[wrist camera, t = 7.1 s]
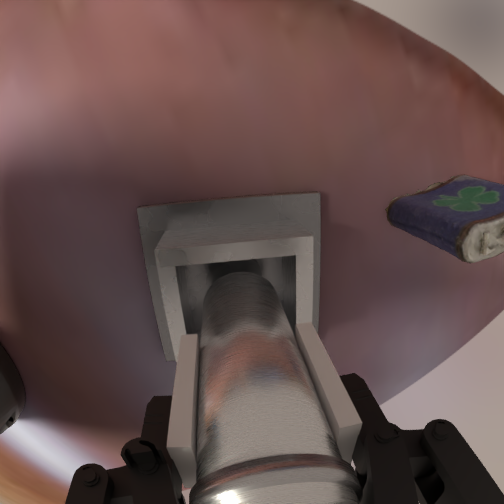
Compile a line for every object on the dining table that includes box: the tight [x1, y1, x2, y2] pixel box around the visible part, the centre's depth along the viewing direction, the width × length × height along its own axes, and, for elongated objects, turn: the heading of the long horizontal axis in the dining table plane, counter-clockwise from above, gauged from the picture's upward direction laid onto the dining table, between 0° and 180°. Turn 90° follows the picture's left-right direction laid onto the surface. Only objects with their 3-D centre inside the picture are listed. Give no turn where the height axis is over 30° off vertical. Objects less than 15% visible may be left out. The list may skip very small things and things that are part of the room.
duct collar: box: [137, 191, 321, 364], centre depth 21 cm, size 12×12×5 cm
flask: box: [385, 175, 504, 263], centre depth 18 cm, size 9×3×11 cm, turn 109°
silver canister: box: [189, 272, 363, 504], centre depth 13 cm, size 5×5×14 cm
